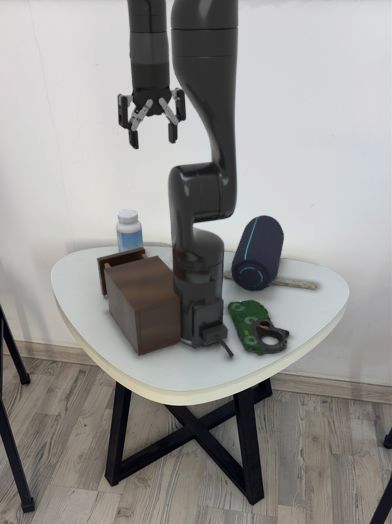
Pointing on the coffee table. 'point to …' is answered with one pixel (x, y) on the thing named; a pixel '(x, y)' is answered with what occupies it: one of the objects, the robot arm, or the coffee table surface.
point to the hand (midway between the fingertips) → (154, 145)
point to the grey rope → (285, 282)
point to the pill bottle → (129, 230)
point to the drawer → (117, 262)
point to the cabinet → (144, 303)
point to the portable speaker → (258, 254)
